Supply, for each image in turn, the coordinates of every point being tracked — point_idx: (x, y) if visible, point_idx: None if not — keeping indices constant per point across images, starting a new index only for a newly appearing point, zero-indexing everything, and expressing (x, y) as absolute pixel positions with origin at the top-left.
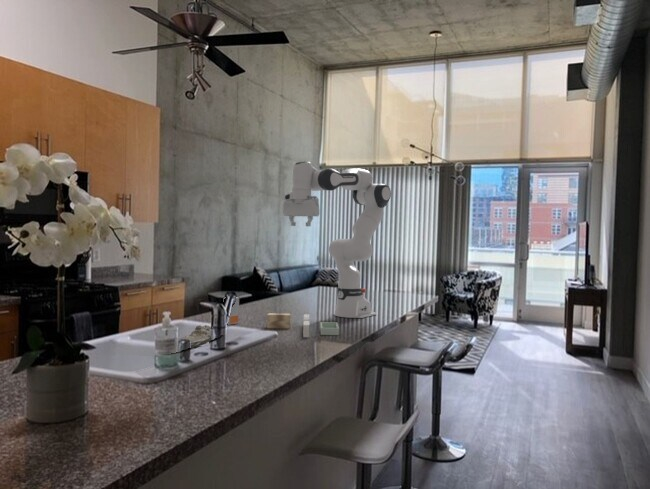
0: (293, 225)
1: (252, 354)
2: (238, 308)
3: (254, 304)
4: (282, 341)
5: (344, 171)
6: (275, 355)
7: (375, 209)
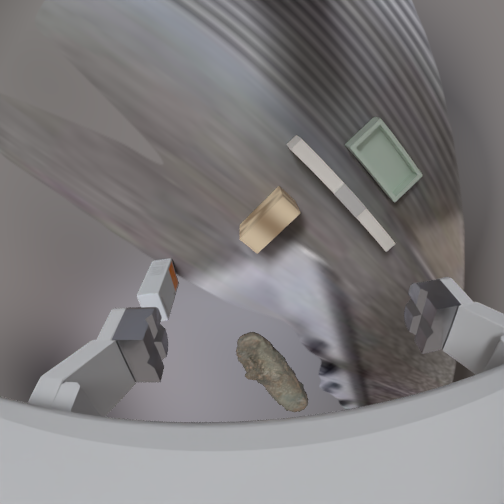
0: (165, 340)
1: (381, 352)
2: (165, 278)
3: None
4: (368, 287)
5: None
6: (407, 335)
7: None
